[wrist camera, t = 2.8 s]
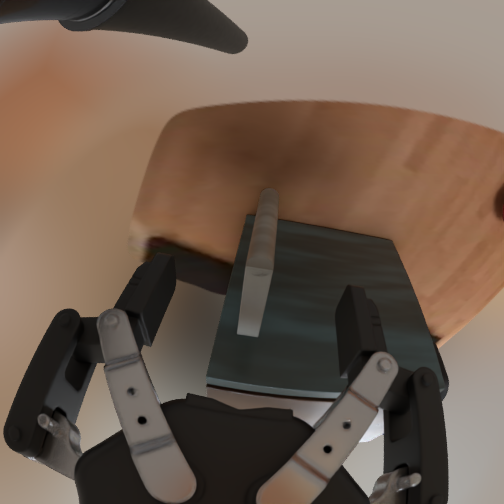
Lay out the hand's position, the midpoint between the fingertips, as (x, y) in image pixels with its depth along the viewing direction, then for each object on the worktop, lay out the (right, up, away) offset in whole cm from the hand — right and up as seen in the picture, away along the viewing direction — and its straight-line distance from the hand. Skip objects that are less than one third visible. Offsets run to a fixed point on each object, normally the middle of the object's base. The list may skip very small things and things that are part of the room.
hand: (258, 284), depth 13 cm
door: (+8, +6, +15) cm, 18 cm away
